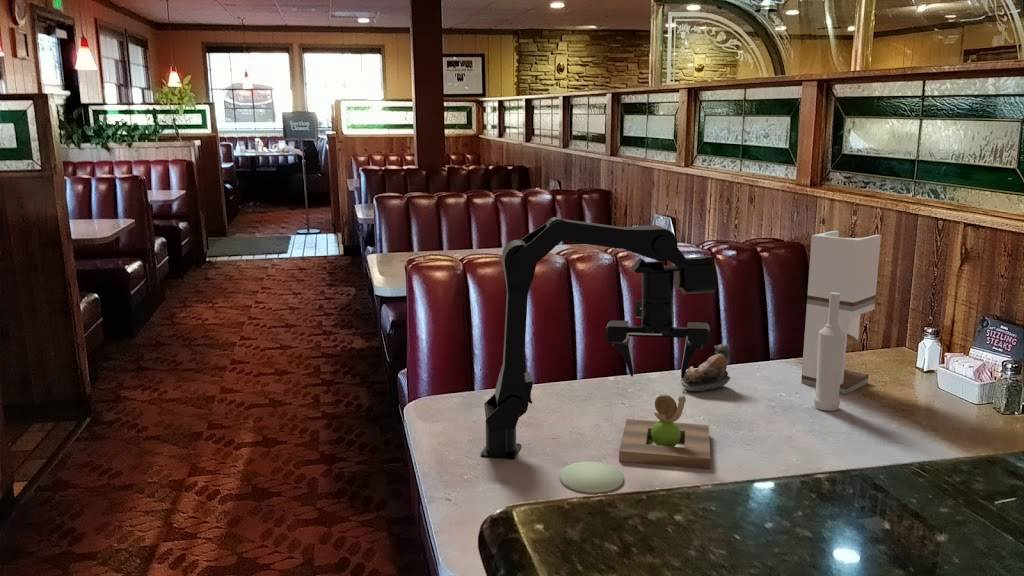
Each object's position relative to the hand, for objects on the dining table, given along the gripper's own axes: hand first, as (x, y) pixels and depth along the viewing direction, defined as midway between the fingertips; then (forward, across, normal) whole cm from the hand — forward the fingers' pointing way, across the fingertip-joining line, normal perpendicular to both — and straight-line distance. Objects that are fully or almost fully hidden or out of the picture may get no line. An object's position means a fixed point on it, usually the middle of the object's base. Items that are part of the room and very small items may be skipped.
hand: (657, 376), depth 146 cm
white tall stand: (+15, -40, -45) cm, 62 cm away
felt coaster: (+13, +10, +17) cm, 24 cm away
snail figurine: (+14, -2, +1) cm, 14 cm away
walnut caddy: (+14, -2, +1) cm, 14 cm away
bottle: (+15, -35, -28) cm, 47 cm away
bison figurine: (+14, -10, -35) cm, 39 cm away
